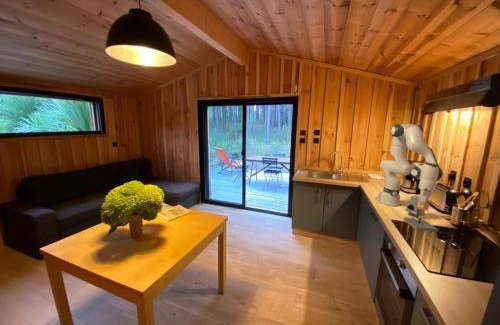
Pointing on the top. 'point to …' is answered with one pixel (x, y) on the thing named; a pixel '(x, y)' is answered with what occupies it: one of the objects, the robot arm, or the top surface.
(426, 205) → the wire nut
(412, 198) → the circuit breaker
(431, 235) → the top surface
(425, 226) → the junction plate
